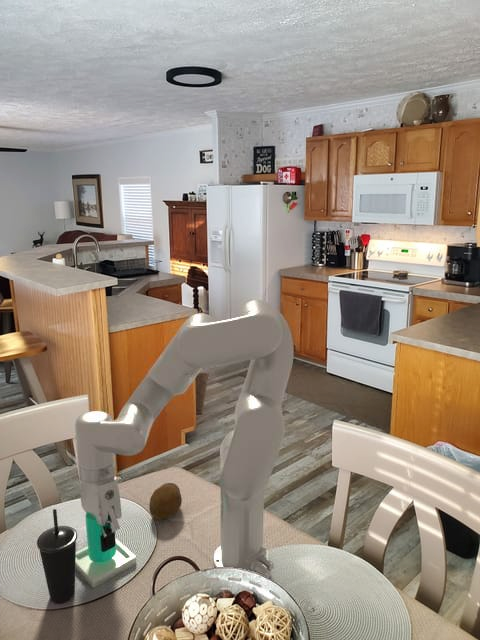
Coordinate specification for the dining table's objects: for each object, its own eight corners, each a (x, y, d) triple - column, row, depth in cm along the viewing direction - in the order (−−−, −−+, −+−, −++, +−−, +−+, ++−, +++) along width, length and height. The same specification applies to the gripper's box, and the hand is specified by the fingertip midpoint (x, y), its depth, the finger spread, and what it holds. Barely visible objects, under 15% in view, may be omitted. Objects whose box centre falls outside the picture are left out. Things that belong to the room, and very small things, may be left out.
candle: (109, 564, 110) (105, 516, 108) (83, 560, 112) (79, 512, 109) (120, 546, 116) (118, 499, 113) (96, 542, 117) (93, 496, 114)
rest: (136, 563, 114) (135, 556, 114) (93, 588, 107) (92, 580, 107) (111, 540, 122) (111, 534, 121) (70, 562, 115) (69, 555, 114)
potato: (185, 500, 138) (184, 474, 136) (178, 529, 126) (177, 502, 124) (155, 499, 138) (154, 474, 136) (145, 528, 126) (144, 501, 124)
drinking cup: (60, 577, 110) (52, 495, 105) (89, 587, 108) (82, 503, 103) (34, 602, 103) (25, 516, 98) (65, 614, 101) (56, 526, 96)
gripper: (133, 478, 105) (137, 553, 110) (93, 448, 117) (98, 518, 122) (101, 492, 100) (106, 571, 105) (62, 460, 112) (68, 531, 117)
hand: (101, 541), depth 113 cm, fingers closed on candle, 4 cm apart
